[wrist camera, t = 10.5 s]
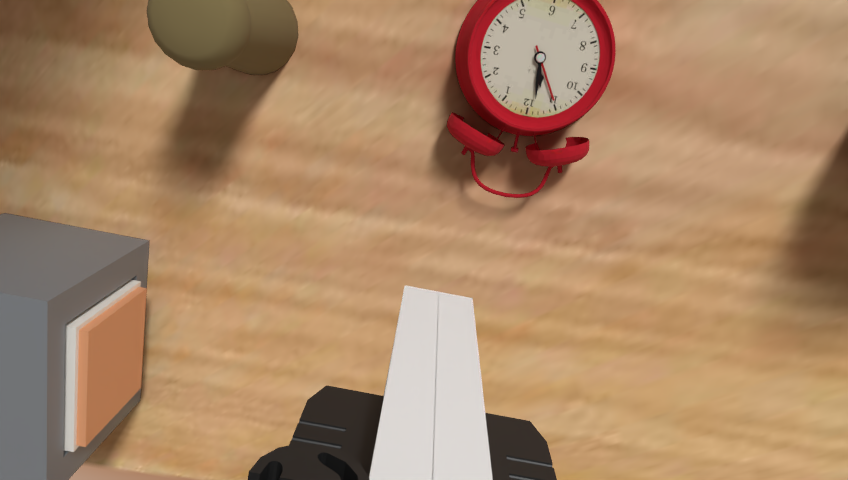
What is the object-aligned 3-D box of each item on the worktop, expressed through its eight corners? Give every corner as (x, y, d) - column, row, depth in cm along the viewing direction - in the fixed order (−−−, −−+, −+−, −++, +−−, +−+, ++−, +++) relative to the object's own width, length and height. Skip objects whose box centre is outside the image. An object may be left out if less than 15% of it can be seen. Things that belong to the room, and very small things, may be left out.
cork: (294, 81, 41) (242, 88, 31) (207, 67, 41) (126, 69, 31) (302, -12, 40) (250, -39, 29) (212, -26, 40) (127, -59, 29)
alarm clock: (651, -38, 35) (600, 212, 36) (616, -2, 42) (573, 210, 43) (479, -72, 35) (431, 180, 36) (470, -30, 41) (430, 183, 42)
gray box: (6, 376, 49) (-129, 472, 37) (4, 213, 45) (-149, 264, 33) (140, 400, 49) (46, 504, 38) (149, 240, 45) (47, 301, 34)
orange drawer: (40, 370, 46) (-41, 431, 39) (40, 262, 44) (-46, 305, 36) (142, 389, 46) (82, 453, 39) (148, 282, 44) (85, 329, 36)
